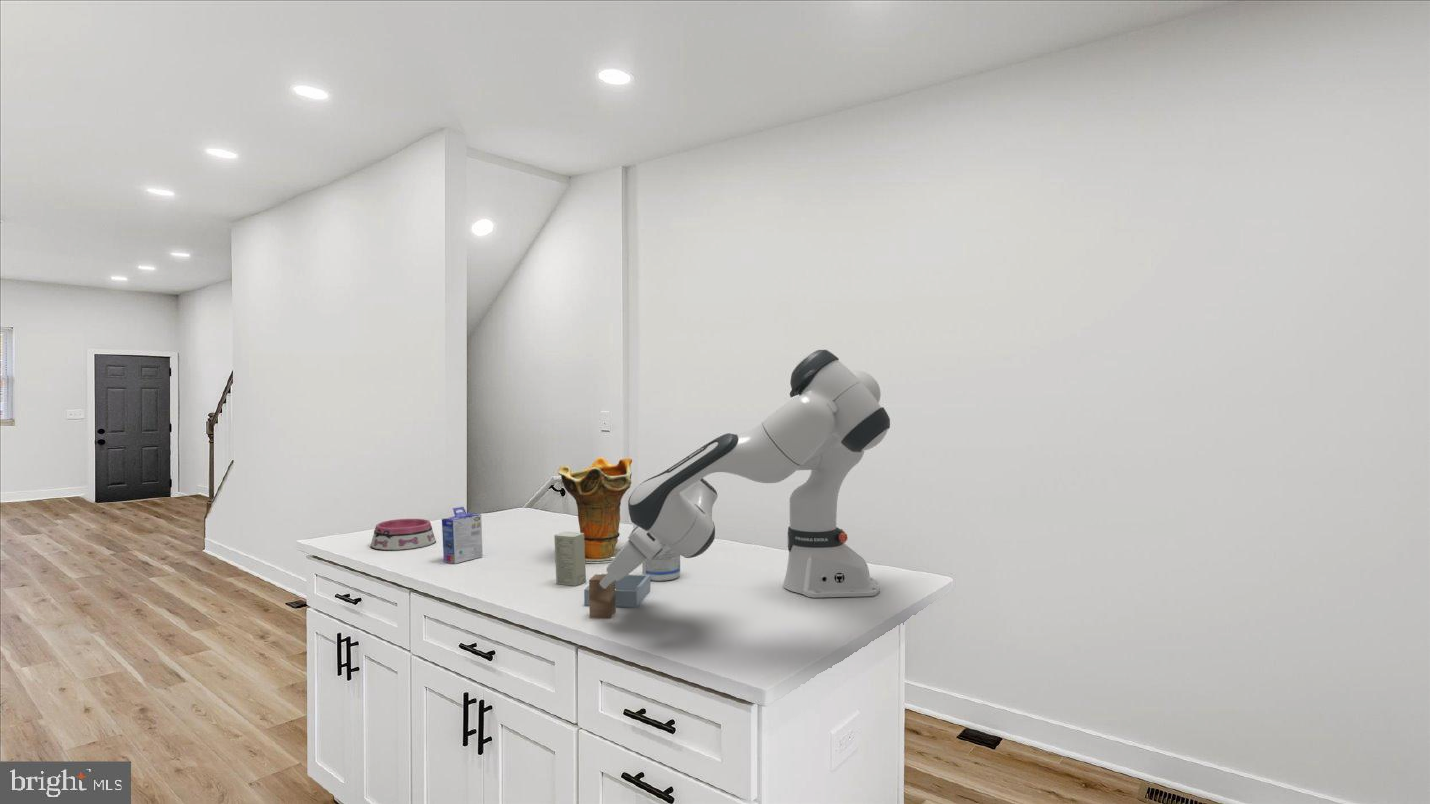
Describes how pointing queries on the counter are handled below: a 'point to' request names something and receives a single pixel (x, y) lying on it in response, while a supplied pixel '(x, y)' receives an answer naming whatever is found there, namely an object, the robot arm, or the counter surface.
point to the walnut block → (601, 598)
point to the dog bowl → (402, 535)
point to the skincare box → (570, 558)
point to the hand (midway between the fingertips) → (609, 579)
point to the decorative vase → (599, 504)
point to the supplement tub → (663, 566)
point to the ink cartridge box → (462, 537)
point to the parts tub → (627, 590)
